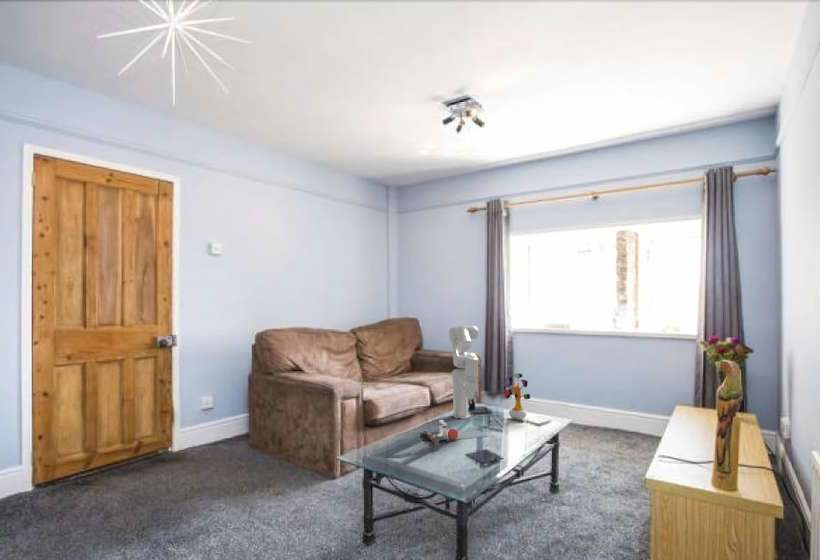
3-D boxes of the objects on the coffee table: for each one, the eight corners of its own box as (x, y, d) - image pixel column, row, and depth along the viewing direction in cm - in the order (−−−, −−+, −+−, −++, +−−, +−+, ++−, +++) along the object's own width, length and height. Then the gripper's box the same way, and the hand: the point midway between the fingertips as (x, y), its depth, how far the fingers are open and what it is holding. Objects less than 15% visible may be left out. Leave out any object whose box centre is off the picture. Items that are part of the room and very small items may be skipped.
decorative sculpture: (500, 417, 291) (500, 371, 293) (508, 415, 296) (508, 370, 297) (525, 424, 275) (524, 376, 277) (533, 421, 280) (532, 374, 281)
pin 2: (441, 438, 248) (441, 422, 248) (445, 438, 249) (445, 422, 249) (443, 440, 246) (443, 423, 246) (447, 439, 246) (447, 423, 247)
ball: (443, 433, 246) (451, 425, 247) (447, 436, 250) (454, 428, 251) (451, 440, 242) (458, 432, 243) (454, 443, 247) (461, 435, 248)
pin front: (446, 436, 252) (432, 438, 249) (446, 432, 252) (432, 433, 249) (448, 438, 249) (433, 439, 246) (448, 433, 249) (433, 435, 246)
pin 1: (438, 436, 253) (438, 420, 253) (442, 435, 254) (442, 420, 254) (440, 437, 250) (440, 421, 251) (444, 437, 251) (444, 421, 251)
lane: (431, 435, 253) (431, 435, 253) (479, 430, 262) (479, 430, 262) (438, 441, 243) (438, 441, 243) (487, 436, 252) (487, 436, 252)
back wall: (424, 434, 257) (424, 429, 257) (426, 433, 257) (426, 429, 257) (435, 445, 238) (435, 440, 238) (438, 444, 238) (438, 440, 238)
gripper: (460, 376, 262) (460, 407, 262) (471, 381, 248) (471, 414, 248) (472, 375, 264) (472, 406, 264) (483, 380, 250) (483, 413, 250)
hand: (471, 410), depth 256 cm, fingers closed
